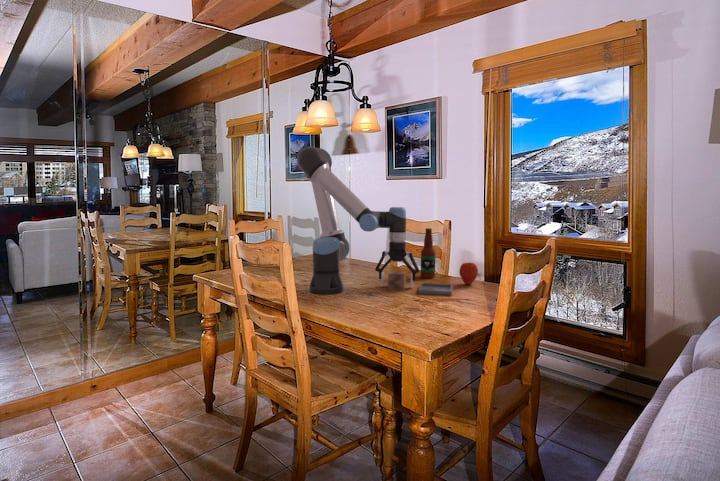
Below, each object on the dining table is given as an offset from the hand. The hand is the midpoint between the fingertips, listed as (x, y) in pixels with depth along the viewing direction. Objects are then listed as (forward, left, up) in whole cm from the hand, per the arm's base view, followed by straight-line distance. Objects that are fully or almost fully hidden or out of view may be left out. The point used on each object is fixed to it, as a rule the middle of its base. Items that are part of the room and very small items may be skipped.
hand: (397, 286), depth 213 cm
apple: (+32, +13, 0) cm, 35 cm away
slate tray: (+18, -3, 0) cm, 18 cm away
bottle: (+12, +25, 0) cm, 28 cm away
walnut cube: (0, 0, 0) cm, 0 cm away
